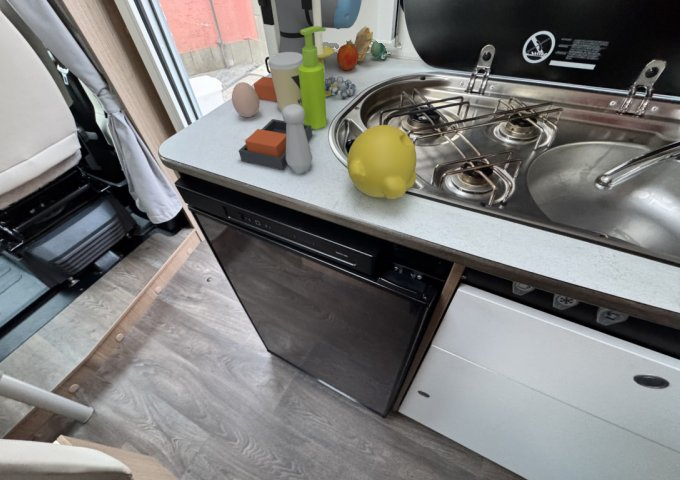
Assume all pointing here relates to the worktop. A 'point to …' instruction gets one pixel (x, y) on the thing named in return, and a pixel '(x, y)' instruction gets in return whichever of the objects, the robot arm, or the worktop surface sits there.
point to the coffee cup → (286, 78)
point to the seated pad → (267, 142)
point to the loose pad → (265, 89)
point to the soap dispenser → (312, 82)
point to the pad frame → (268, 159)
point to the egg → (245, 99)
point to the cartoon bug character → (363, 44)
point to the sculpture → (382, 162)
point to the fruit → (347, 56)
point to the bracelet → (339, 81)
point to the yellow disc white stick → (321, 49)
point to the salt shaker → (296, 139)
